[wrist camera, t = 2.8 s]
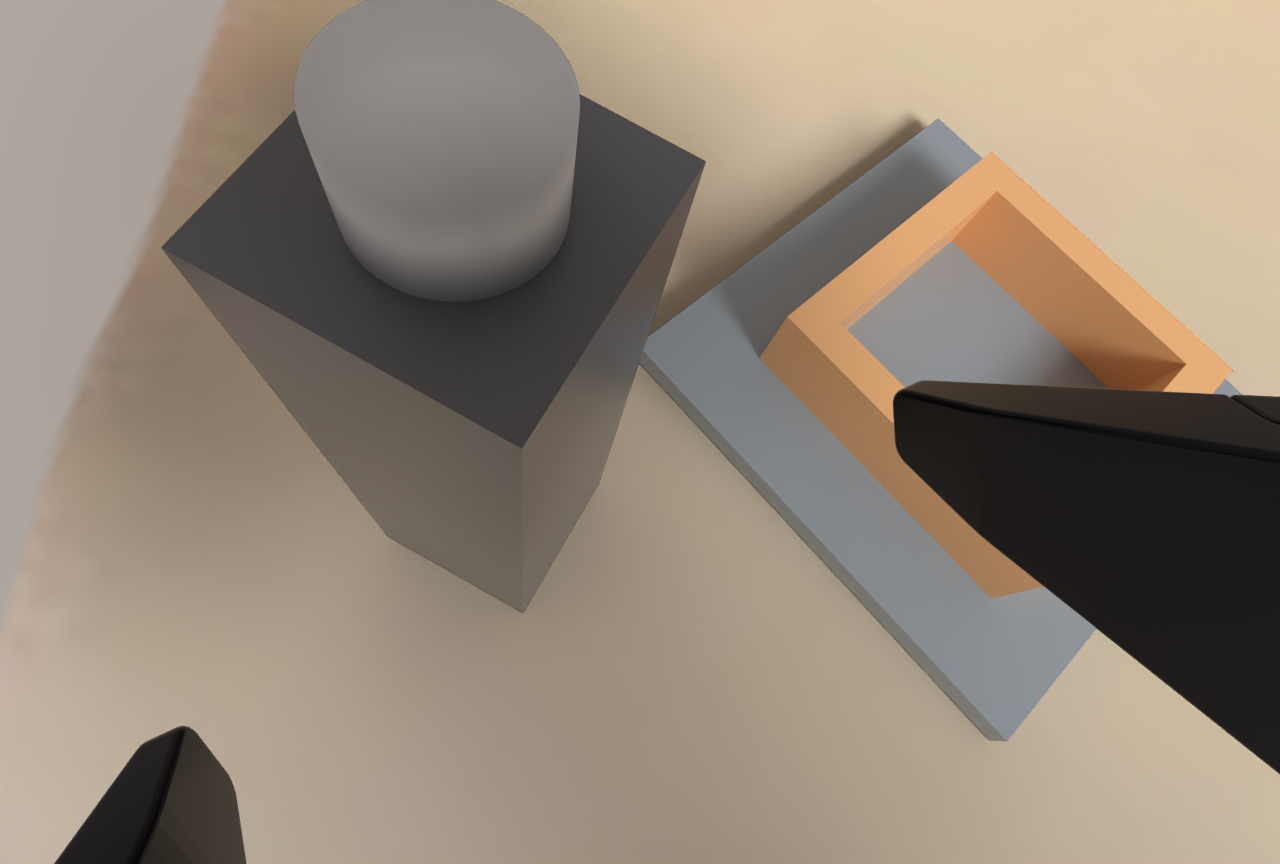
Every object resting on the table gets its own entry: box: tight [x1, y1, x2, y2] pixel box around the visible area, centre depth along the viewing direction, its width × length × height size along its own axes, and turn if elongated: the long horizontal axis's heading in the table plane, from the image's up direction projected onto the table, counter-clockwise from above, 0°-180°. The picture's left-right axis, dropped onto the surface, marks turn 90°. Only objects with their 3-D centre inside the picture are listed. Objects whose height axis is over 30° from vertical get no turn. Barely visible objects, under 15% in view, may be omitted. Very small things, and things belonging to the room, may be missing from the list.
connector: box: [161, 0, 706, 613], centre depth 13 cm, size 4×4×14 cm
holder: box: [639, 119, 1242, 741], centre depth 22 cm, size 14×14×3 cm
